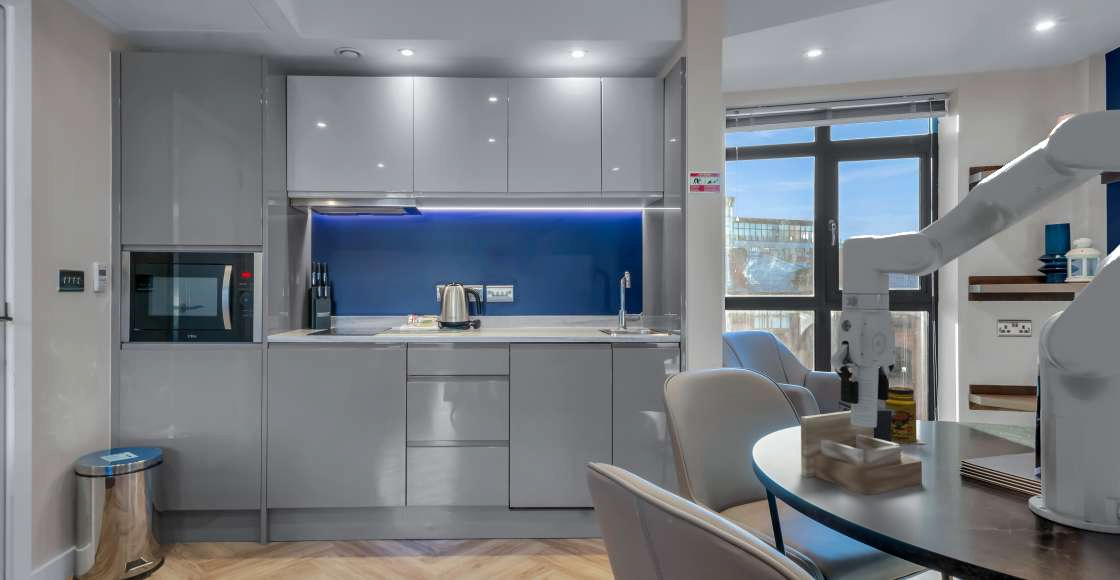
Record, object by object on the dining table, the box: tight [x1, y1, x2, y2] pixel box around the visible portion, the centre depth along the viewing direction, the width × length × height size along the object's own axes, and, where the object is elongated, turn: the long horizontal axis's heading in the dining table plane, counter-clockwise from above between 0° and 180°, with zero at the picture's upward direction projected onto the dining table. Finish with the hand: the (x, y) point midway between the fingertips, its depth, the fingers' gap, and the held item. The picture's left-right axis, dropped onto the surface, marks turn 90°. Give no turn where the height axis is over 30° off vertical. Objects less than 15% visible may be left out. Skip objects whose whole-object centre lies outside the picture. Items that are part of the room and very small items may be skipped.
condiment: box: [884, 386, 927, 445], centre depth 132 cm, size 7×8×12 cm
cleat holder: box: [800, 411, 923, 496], centre depth 105 cm, size 14×18×11 cm
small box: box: [838, 400, 892, 442], centre depth 120 cm, size 11×6×10 cm, turn 179°
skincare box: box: [851, 360, 879, 427], centre depth 104 cm, size 6×4×12 cm
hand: (864, 400), depth 104 cm, fingers closed on skincare box, 7 cm apart
